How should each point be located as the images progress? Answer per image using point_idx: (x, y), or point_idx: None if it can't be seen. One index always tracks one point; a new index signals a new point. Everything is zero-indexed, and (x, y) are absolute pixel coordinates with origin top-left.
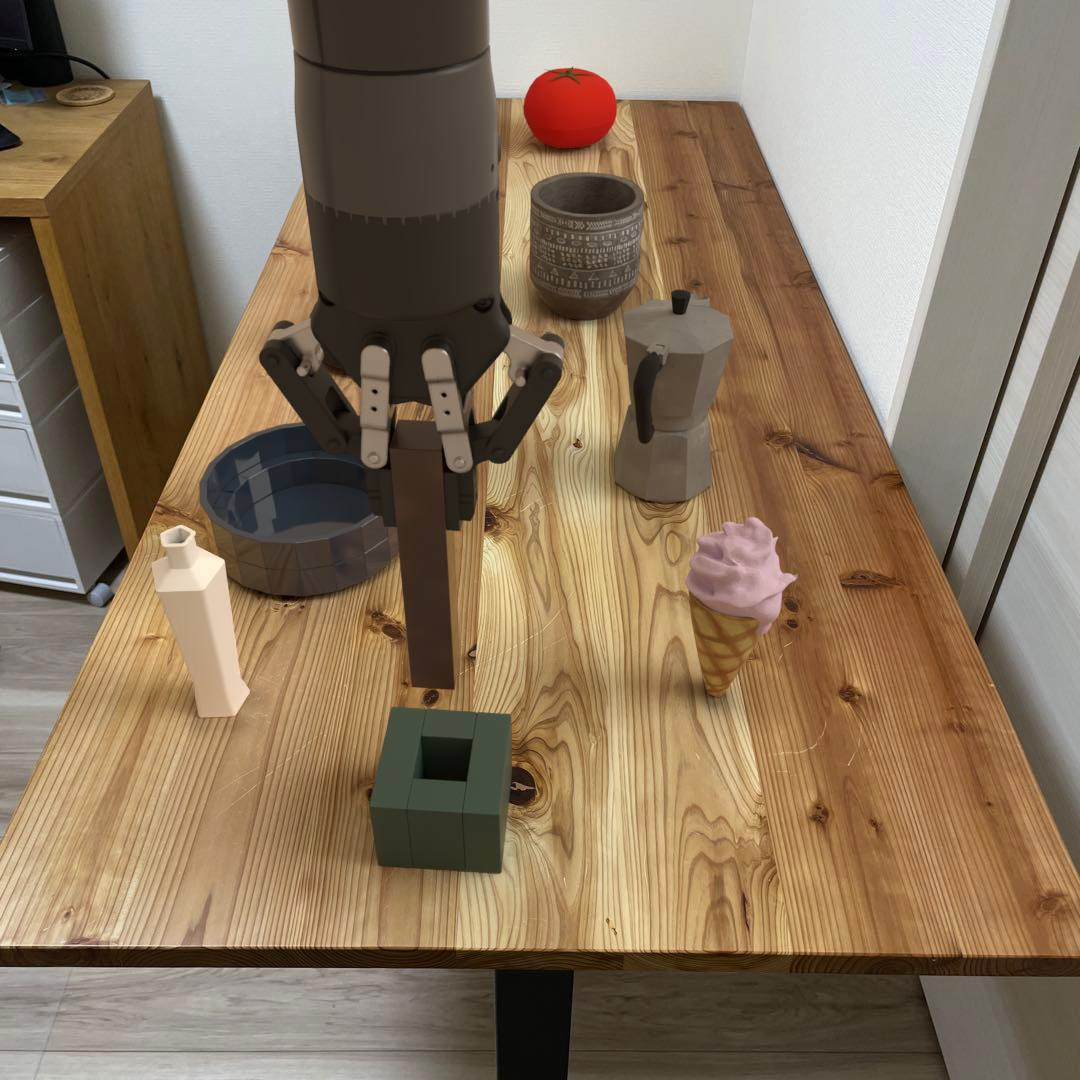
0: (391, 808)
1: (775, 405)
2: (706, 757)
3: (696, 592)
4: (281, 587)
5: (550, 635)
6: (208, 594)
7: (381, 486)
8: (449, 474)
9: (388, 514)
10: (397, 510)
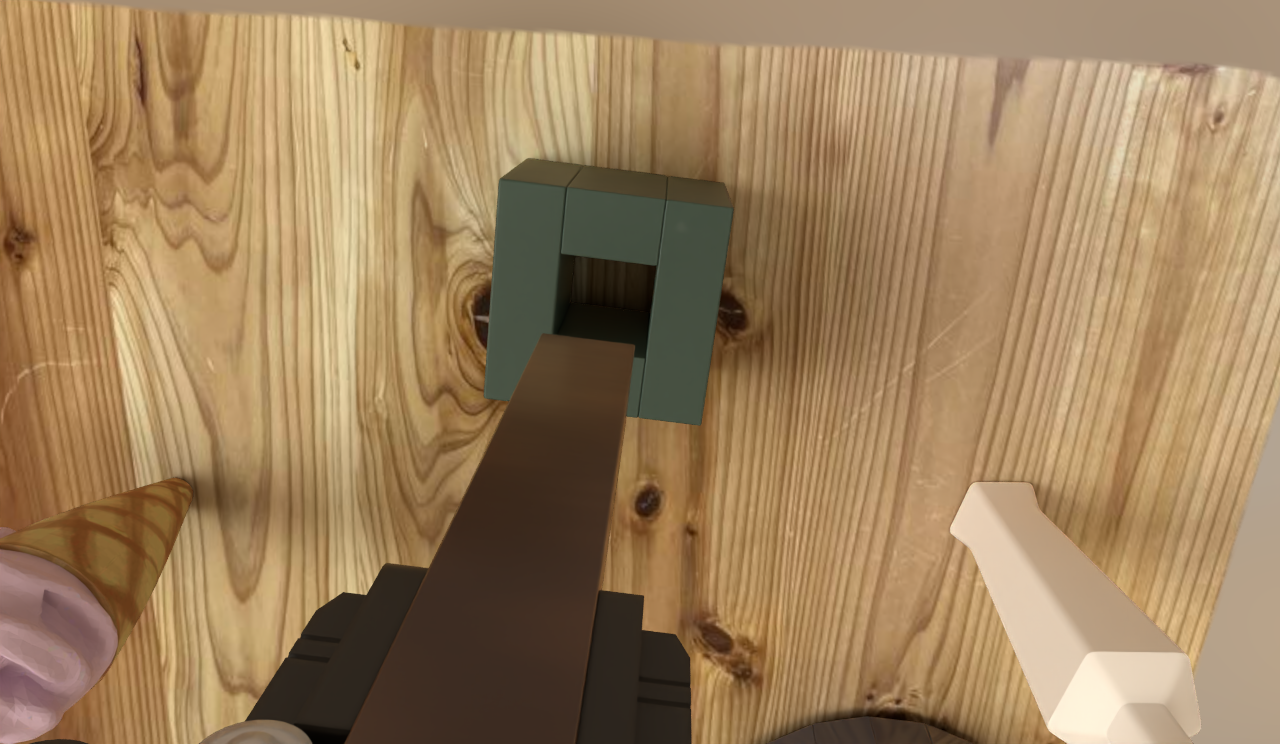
0: (693, 202)
1: None
2: (196, 361)
3: (88, 606)
4: (909, 732)
5: None
6: (1073, 647)
7: (628, 704)
8: (328, 722)
9: (620, 621)
10: (583, 627)
